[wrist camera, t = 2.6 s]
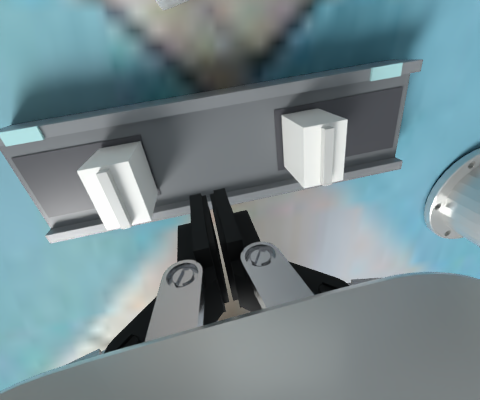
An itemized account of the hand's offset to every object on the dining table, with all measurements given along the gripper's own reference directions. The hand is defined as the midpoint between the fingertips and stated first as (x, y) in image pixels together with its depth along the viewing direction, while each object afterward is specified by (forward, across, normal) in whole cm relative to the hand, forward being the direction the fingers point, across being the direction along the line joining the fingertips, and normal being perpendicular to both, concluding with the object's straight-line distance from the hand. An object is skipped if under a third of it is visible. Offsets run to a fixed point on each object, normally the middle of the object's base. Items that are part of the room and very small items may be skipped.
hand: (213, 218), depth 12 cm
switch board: (+12, -2, 0) cm, 12 cm away
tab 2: (+9, -8, 0) cm, 13 cm away
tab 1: (+10, +6, 0) cm, 11 cm away
